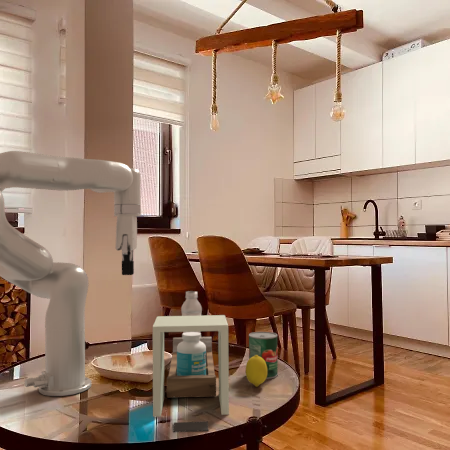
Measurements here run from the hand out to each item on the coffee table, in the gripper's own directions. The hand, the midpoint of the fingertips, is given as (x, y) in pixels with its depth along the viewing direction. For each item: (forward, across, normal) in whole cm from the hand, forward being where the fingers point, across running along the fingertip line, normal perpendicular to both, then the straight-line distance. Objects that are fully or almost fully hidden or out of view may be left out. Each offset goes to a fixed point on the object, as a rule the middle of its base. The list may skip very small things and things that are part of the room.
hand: (127, 274), depth 135 cm
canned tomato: (+27, +9, +38) cm, 48 cm away
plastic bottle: (+27, -14, +18) cm, 36 cm away
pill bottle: (+27, +17, +18) cm, 37 cm away
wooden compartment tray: (+27, +10, +18) cm, 34 cm away
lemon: (+27, +18, +35) cm, 48 cm away
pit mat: (+27, +42, +18) cm, 53 cm away
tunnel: (+27, +30, +18) cm, 44 cm away
